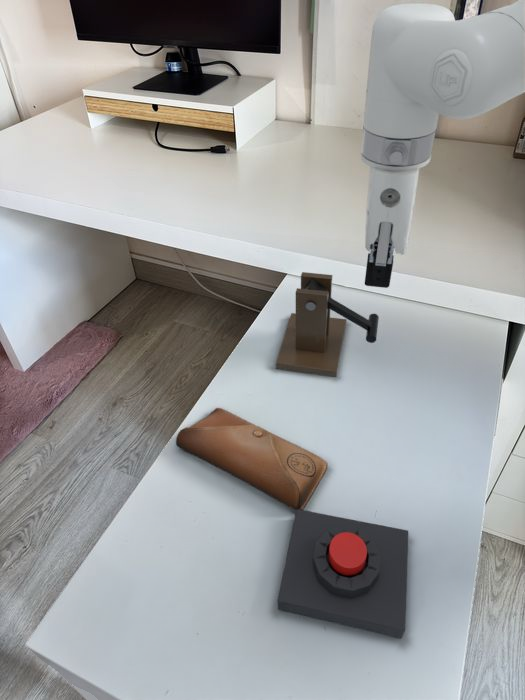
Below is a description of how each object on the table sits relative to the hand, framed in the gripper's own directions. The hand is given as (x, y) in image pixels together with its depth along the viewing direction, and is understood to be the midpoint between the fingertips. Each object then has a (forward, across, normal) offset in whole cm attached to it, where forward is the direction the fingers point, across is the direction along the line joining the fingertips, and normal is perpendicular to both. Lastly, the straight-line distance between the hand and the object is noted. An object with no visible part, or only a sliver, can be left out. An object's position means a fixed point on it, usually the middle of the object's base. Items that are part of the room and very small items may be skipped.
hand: (376, 283), depth 67 cm
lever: (+7, +1, +5) cm, 9 cm away
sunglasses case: (+14, -21, +13) cm, 28 cm away
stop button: (+10, -33, 0) cm, 35 cm away
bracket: (+13, +1, +8) cm, 16 cm away
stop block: (+13, -33, 0) cm, 36 cm away
